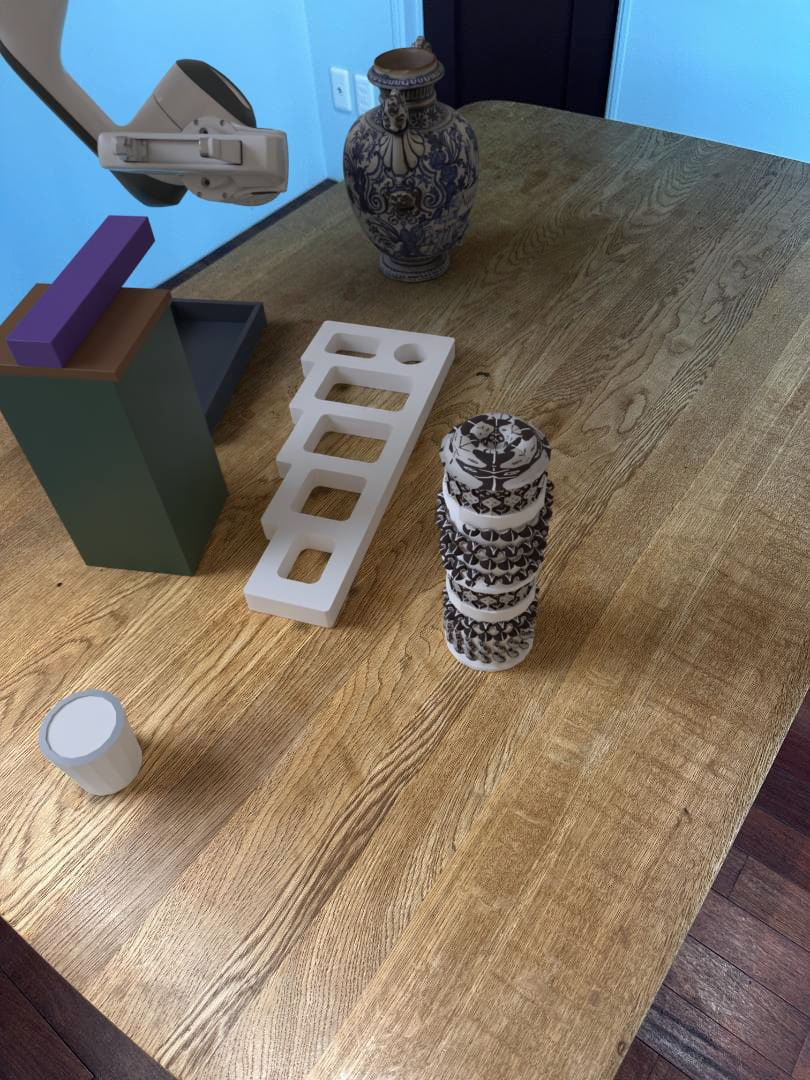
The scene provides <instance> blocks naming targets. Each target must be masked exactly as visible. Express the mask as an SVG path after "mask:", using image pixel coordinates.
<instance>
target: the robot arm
mask: <svg viewBox="0 0 810 1080" xmlns="http://www.w3.org/2000/svg"><path fill="white" fill-rule="evenodd" d="M69 3H70V0H0V56H1V57H2V58H3V60H4V61H5V62H6V63H7V65H8V66H9V67H10V68H11V70H12V71H13V72H14V73H15V74H16V75H17V76H18V78H19V79H20V80H21V81H22V82H23V83H24V84H25V85H26V86H27V88H29V89H30V90H31V92H32V93H33V94H34V95H35V96H36V97H37V98H38V99H39V100H40V101H42V103H43V104H44V105H45V106H46V107H47V108H48V109H49V110H50V111H51V112H52V113H53V114H54V115H55V116H56V117H57V118H58V119H59V120H60V121H61V122H62V123H63V124H64V125H65V126H66V127H67V128H68V129H69V130H70V131H71V132H72V133H73V134H74V135H75V136H76V137H77V138H78V139H79V140H80V141H81V142H82V143H83V144H84V145H85V146H86V147H87V148H88V149H89V150H90V152H92V154H94V155H95V157H97V158H98V162H99V165H100V167H101V168H102V169H104V170H108V171H109V172H110V173H111V174H112V175H113V177H114V178H115V179H116V180H117V181H118V182H119V184H120V185H121V186H122V187H123V189H125V191H127V193H129V195H130V196H131V197H133V198H134V199H135V200H136V201H138V202H139V203H141V204H142V205H143V206H145V207H148V208H169V207H175V206H178V205H180V203H181V201H182V200H183V199H184V197H185V195H186V194H187V192H188V191H189V192H190V193H191V194H192V195H194V196H196V197H197V198H198V199H201V200H203V201H208V202H215V203H221V204H227V205H228V204H231V205H236V206H241V207H259V206H260V207H261V206H264V205H268V203H271V202H272V201H274V200H275V199H277V198H278V197H279V196H280V194H281V193H283V194H284V193H287V191H288V186H289V174H290V173H289V172H290V155H289V141H288V135H287V132H285V131H283V130H282V129H274V128H266V127H265V128H264V127H257V124H258V123H257V119H256V114H255V111H254V108H253V106H252V104H251V103H250V101H249V100H248V98H247V97H246V95H245V94H244V93H243V92H242V91H241V90H240V88H239V87H238V86H237V85H236V84H235V83H234V82H233V81H232V80H231V79H230V78H228V77H227V76H226V75H225V74H224V73H222V72H221V71H220V70H219V69H217V68H215V67H214V66H212V65H210V64H209V63H207V62H206V61H204V60H199V59H192V58H182V59H181V58H180V59H177V60H175V62H174V63H173V64H172V66H171V67H170V68H169V69H168V70H167V71H166V72H165V74H164V75H163V76H162V78H161V79H160V80H159V82H158V83H157V85H155V87H154V88H153V90H152V92H151V94H150V95H149V96H148V98H147V99H146V101H145V102H144V103H142V106H141V107H140V108H139V110H138V111H137V112H136V113H135V114H134V116H133V118H132V119H131V120H130V121H129V122H128V123H127V124H123V125H118V124H117V123H116V122H114V120H112V119H111V118H110V116H109V115H108V114H107V113H106V112H105V111H104V110H103V109H102V107H100V106H99V105H98V104H97V102H96V101H94V99H93V98H92V97H91V96H90V95H89V93H87V92H86V91H85V90H84V89H83V87H82V86H81V85H79V83H78V82H77V81H76V80H75V79H74V77H72V76H71V74H70V73H69V71H68V70H67V68H66V66H65V64H64V62H63V58H62V43H63V42H62V41H63V34H64V29H65V25H66V24H65V23H66V18H67V14H68V9H69Z"/></svg>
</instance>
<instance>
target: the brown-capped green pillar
mask: <svg viewBox="0 0 810 1080" xmlns="http://www.w3.org/2000/svg"><path fill="white" fill-rule="evenodd" d="M51 284H52V283H46V282H45V283H44V282H36V283H35V284H34V285H33V286H32V287H31V288H30V290H29V291H28V292H27V293H26V294H25V295H24V297H23V298H22V299H21V300H20V301H19V302H18V304H17V305H16V306H15V307H14V308H13V310H12V311H11V312H10V313H9V314H8V315H7V317H6V318H5V319H4V320H3V321H2V323H0V414H1V415H2V417H3V418H4V420H5V422H6V424H7V426H8V428H9V429H10V431H11V433H12V435H13V436H14V438H15V441H16V442H17V443H18V446H19V447H20V448H21V451H22V453H23V454H24V456H25V458H26V460H27V462H28V464H29V466H30V467H31V469H32V471H33V473H34V474H35V476H36V478H37V480H38V482H39V483H40V485H41V487H42V489H43V490H44V492H45V495H46V496H47V498H48V499H49V501H50V503H51V506H53V508H54V510H55V512H56V514H57V516H58V518H59V519H60V522H61V523H62V525H63V526H64V529H65V530H66V532H67V534H68V535H69V537H70V539H71V541H72V543H73V544H74V546H75V548H76V550H77V551H78V554H79V555H80V557H81V559H82V561H83V563H84V564H85V565H86V566H90V567H91V566H92V567H101V568H111V569H119V570H129V571H139V572H148V573H157V574H166V575H177V576H185V577H193V576H194V575H195V572H196V570H197V568H198V566H199V564H200V562H201V558H202V557H203V554H204V551H205V550H206V548H207V545H208V543H209V541H210V538H211V536H212V534H213V531H214V529H215V527H216V524H217V522H218V520H219V517H220V515H221V513H222V512H223V509H224V506H225V504H226V502H227V499H228V497H229V495H230V493H229V489H228V486H227V484H226V481H225V477H224V474H223V471H222V467H221V465H220V461H219V458H218V454H217V452H216V448H215V445H214V443H213V439H212V437H211V436H210V432H209V429H208V426H207V423H206V420H205V417H204V413H203V410H202V407H201V404H200V401H199V397H198V394H197V391H196V388H195V385H194V382H193V378H192V375H191V372H190V369H189V366H188V363H187V359H186V356H185V353H184V350H183V347H182V344H181V340H180V337H179V334H178V331H177V328H176V324H175V321H174V318H173V315H172V312H171V309H170V305H169V303H170V302H171V300H172V298H173V296H172V292H171V290H170V289H168V288H149V287H148V288H147V287H131V286H130V287H126V286H122V288H121V289H120V290H119V292H118V293H117V294H116V296H115V297H114V299H113V300H112V301H111V303H110V304H109V305H108V307H107V308H106V310H105V311H104V312H103V314H102V315H101V316H100V318H99V319H98V321H97V322H96V323H95V325H94V326H93V327H92V329H91V330H90V332H89V333H88V334H87V336H86V337H85V338H84V340H83V341H82V343H81V344H80V345H79V347H78V348H77V349H76V351H75V352H74V354H73V355H72V356H71V358H70V359H69V360H68V362H67V363H66V365H65V366H64V367H63V368H51V367H36V366H20V365H18V364H17V362H16V360H15V358H14V356H13V355H12V353H11V351H10V349H9V347H8V345H7V343H6V341H5V339H6V338H7V337H8V336H9V334H10V333H11V332H12V331H13V330H14V328H15V327H16V326H17V325H18V324H19V322H20V321H21V320H22V319H23V318H24V316H25V315H26V314H27V313H28V312H29V310H30V309H31V308H32V307H33V306H34V304H35V303H36V302H37V301H38V300H39V298H40V297H41V296H42V295H43V294H44V292H45V291H46V290H47V289H48V288H49V286H50V285H51Z"/></svg>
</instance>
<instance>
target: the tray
mask: <svg viewBox="0 0 810 1080" xmlns="http://www.w3.org/2000/svg"><path fill="white" fill-rule="evenodd" d="M169 305H170V309H171V312H172V315H173V318H174V321H175V324H176V328H177V331H178V334H179V337H180V340H181V344H182V347H183V350H184V353H185V356H186V359H187V363H188V366H189V369H190V372H191V375H192V378H193V382H194V385H195V388H196V391H197V394H198V397H199V401H200V404H201V407H202V410H203V413H204V417H205V420H206V423H207V426H208V429H209V432H210V436H211V438H212V437H213V435H214V434H215V431H216V429H217V427H218V425H219V423H220V421H221V419H222V417H223V415H224V413H225V411H226V409H227V406H228V405H229V403H230V401H231V398H232V397H233V394H235V393H234V392H235V391H236V389H237V387H238V384H239V382H240V381H241V378H242V376H243V375H244V372H245V370H246V368H247V366H248V365H249V362H250V360H251V358H252V357H253V354H254V352H255V349H256V348H257V346H258V344H259V341H260V339H261V337H262V335H263V333H264V332H265V330H266V328H267V326H268V322H267V317H266V312H265V307H264V303H263V302H262V301H243V300H242V301H241V300H223V299H205V298H203V299H201V298H185V297H172V300H171V302H170V303H169Z"/></svg>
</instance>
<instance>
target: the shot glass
mask: <svg viewBox="0 0 810 1080" xmlns="http://www.w3.org/2000/svg"><path fill="white" fill-rule="evenodd" d="M37 743H38V746H39V749H40V751H41V753H42V756H43V757H44V758H45V759H47V760H48V761H49V762H50V763H51V764H53V765H54V766H55V767H57V768H58V769H59V770H60V771H61V772H62V773H63V774H65V775H66V776H67V777H68V778H70V780H72V781H73V782H74V783H76V784H77V786H79V787H80V788H81V789H82V790H84V791H86V792H87V793H88V794H89V795H93V796H94V795H95V796H100V797H104V796H108V795H114V794H117V793H118V792H120V791H122V790H123V789H125V788H127V787H129V785H130V784H131V783H132V782H133V781H134V780H135V778H136V777H137V776H138V775H139V772H140V770H141V767H142V765H143V751H142V749H141V746H140V744H139V742H138V740H137V737H136V734H135V732H134V729H133V727H132V724H131V723H130V721H129V718H128V716H127V713H126V711H125V709H124V707H123V705H122V703H121V700H120V698H118V697H116V696H115V695H114V694H112V693H110V692H109V691H107V690H103V689H95V688H90V689H86V690H81V691H76V692H74V693H72V694H70V695H68V696H66V697H65V698H62V699H61V700H59V701H58V702H57V703H56V704H55V705H54V706H53V707H52V708H51V709H50V710H49V711H48V712H47V713H46V714H45V717H44V718H43V721H42V722H41V725H40V726H39V729H38V740H37Z"/></svg>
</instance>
